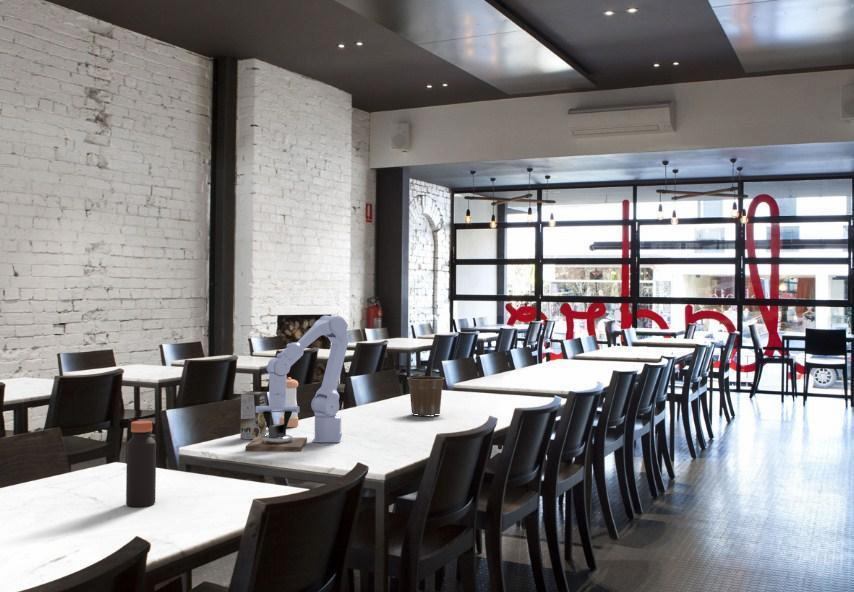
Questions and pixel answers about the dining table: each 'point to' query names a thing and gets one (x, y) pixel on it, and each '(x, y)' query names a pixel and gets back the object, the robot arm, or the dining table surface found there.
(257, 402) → the coffee box
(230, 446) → the dining table surface
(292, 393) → the pepper shaker
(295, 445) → the dial plate
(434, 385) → the plant pot
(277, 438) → the dial
